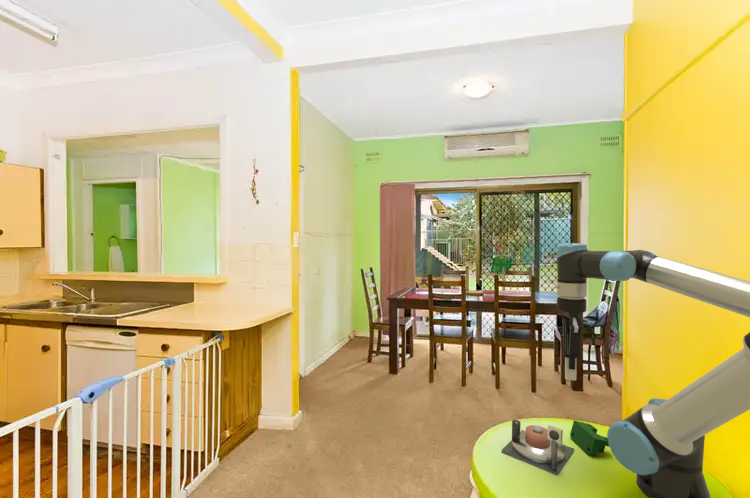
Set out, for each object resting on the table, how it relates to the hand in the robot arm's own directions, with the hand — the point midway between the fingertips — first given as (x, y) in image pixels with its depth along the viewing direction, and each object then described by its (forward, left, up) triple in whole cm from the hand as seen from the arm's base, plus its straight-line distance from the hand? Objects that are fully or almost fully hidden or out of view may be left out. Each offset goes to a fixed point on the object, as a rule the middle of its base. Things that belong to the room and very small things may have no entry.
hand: (570, 379), depth 111 cm
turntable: (+8, 0, -25) cm, 26 cm away
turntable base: (+8, 0, -25) cm, 26 cm away
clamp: (-3, -14, -25) cm, 29 cm away
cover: (+9, -1, -22) cm, 24 cm away
